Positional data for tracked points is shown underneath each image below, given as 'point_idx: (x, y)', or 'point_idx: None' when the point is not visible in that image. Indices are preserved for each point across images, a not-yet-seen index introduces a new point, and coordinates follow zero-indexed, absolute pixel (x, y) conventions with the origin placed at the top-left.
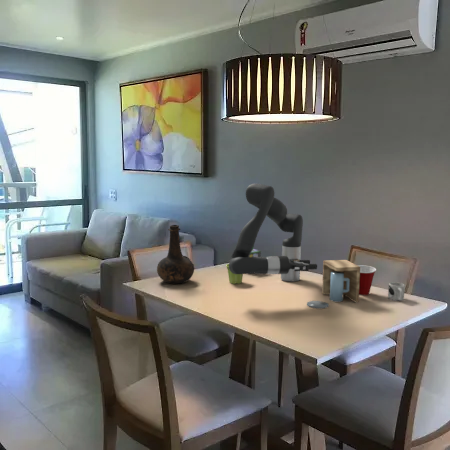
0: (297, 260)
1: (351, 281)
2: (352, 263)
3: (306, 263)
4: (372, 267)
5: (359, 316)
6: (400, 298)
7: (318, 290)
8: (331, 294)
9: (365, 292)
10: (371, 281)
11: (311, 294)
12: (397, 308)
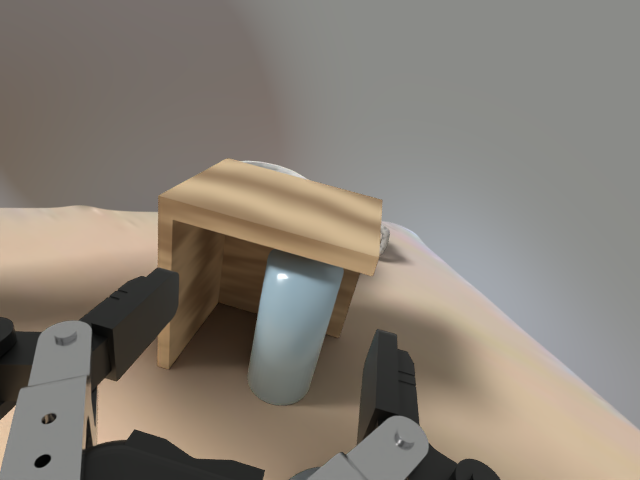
0: (86, 408)
1: None
2: (306, 180)
3: (154, 321)
4: (273, 166)
5: (535, 455)
6: (382, 251)
7: None
8: (286, 382)
9: None
10: None
11: (118, 421)
12: (427, 295)
